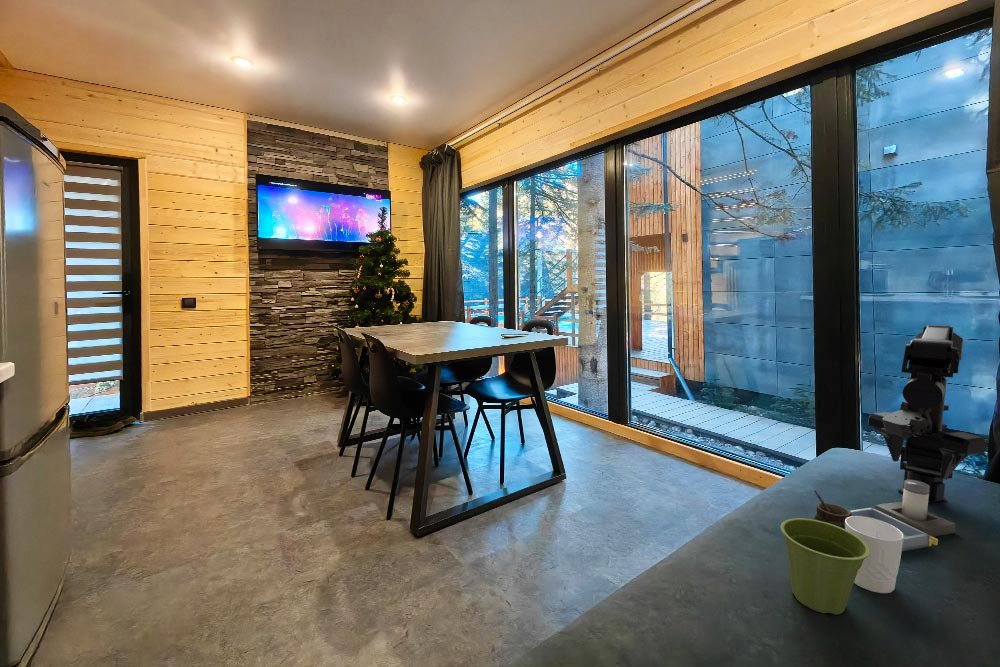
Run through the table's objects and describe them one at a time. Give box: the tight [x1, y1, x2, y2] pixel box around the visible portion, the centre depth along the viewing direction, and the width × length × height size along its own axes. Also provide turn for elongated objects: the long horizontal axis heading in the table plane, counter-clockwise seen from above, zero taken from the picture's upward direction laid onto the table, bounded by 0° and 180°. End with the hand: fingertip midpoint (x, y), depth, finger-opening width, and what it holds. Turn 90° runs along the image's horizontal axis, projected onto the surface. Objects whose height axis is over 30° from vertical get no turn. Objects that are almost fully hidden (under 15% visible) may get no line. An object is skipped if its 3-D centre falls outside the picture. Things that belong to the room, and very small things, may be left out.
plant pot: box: [780, 517, 870, 615], centre depth 73 cm, size 12×12×11 cm
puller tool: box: [929, 536, 939, 547], centre depth 92 cm, size 9×2×1 cm, turn 12°
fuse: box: [901, 480, 930, 522], centre depth 96 cm, size 4×4×9 cm
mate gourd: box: [813, 490, 851, 529], centre depth 88 cm, size 7×8×10 cm
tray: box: [849, 507, 930, 552], centre depth 92 cm, size 11×9×2 cm
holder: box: [874, 500, 956, 537], centre depth 96 cm, size 10×8×2 cm
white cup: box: [845, 516, 904, 594], centre depth 77 cm, size 8×8×10 cm
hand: (918, 469), depth 95 cm, fingers open, 9 cm apart
